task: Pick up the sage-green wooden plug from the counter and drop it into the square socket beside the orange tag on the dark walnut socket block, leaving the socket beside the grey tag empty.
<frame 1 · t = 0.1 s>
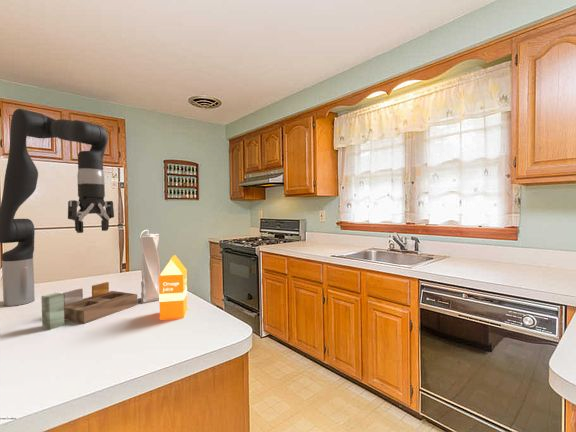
hand: (92, 231, 101), 29 cm above the counter, tool pointing down, fingers open, 8 cm apart
skyscraper: (150, 299, 121), on the counter
socket block: (99, 310, 108), on the counter
orange juice: (174, 315, 103), on the counter
green plug: (53, 326, 94), on the counter
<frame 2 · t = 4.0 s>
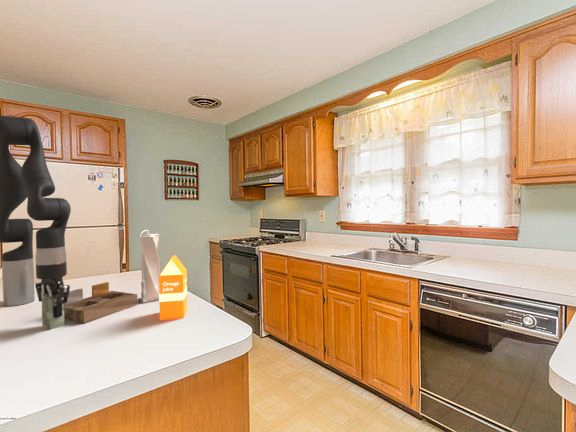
hand: (53, 316, 94), 3 cm above the counter, tool pointing down, fingers closed on green plug, 4 cm apart
green plug: (53, 326, 94), on the counter, touching gripper
everything else where it was.
when the fingers open (5 cm above the counter, at t = 10.9 s): green plug drops 1 cm, resting in socket block.
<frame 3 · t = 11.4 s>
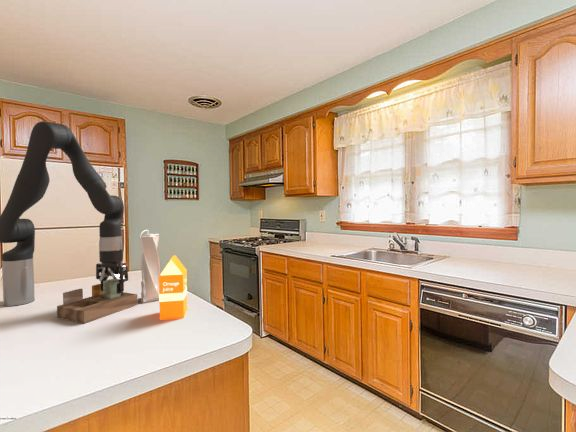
hand: (112, 291, 112), 6 cm above the counter, tool pointing down, fingers open, 8 cm apart
green plug: (112, 306, 112), resting in socket block
everything else where it was.
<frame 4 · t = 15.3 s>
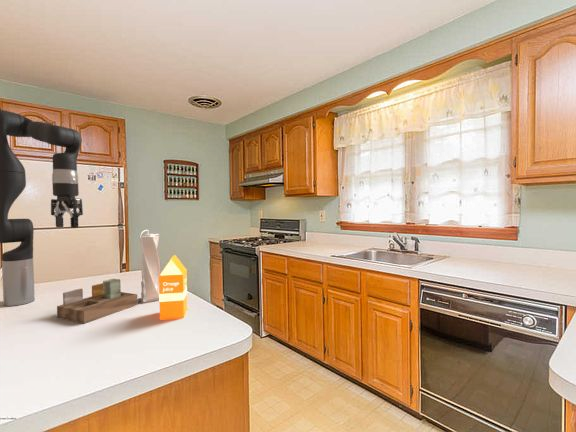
hand: (67, 227, 109), 30 cm above the counter, tool pointing down, fingers open, 8 cm apart
nothing on the counter moved.
at the end: green plug 0.1 cm from the target spot on the socket block, point 0.0 cm above the socket block's base; green plug tilted 0°; the gripper is holding nothing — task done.
